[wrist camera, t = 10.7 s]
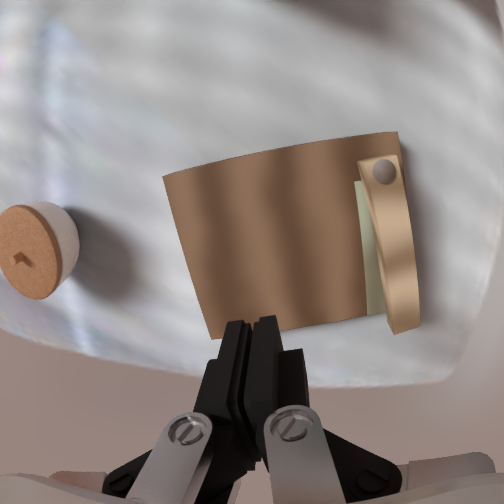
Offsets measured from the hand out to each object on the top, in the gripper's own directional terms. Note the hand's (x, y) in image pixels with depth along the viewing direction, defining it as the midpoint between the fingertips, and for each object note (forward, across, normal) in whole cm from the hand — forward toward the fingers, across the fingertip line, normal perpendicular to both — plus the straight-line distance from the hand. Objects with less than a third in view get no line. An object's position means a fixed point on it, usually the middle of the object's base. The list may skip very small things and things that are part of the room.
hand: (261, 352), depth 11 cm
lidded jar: (+22, +26, -3) cm, 34 cm away
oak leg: (+19, -11, +4) cm, 22 cm away
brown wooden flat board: (+22, -2, +3) cm, 22 cm away
